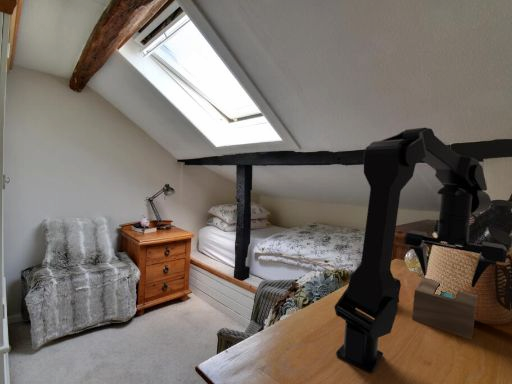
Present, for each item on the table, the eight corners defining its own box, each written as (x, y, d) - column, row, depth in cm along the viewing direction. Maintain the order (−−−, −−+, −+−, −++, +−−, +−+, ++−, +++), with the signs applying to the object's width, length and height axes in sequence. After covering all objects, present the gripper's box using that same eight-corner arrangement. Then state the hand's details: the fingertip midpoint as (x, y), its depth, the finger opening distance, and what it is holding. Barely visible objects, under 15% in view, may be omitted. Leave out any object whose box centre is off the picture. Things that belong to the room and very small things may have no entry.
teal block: (449, 323, 61) (452, 302, 61) (436, 319, 63) (438, 298, 63) (451, 314, 66) (453, 294, 65) (439, 310, 67) (441, 291, 67)
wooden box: (471, 339, 57) (475, 307, 56) (412, 319, 64) (414, 290, 63) (474, 319, 65) (478, 291, 64) (421, 303, 72) (424, 277, 72)
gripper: (508, 217, 62) (500, 283, 63) (416, 207, 75) (411, 262, 76) (510, 222, 54) (501, 298, 55) (405, 210, 66) (400, 272, 67)
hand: (447, 280), depth 64 cm, fingers open, 9 cm apart
